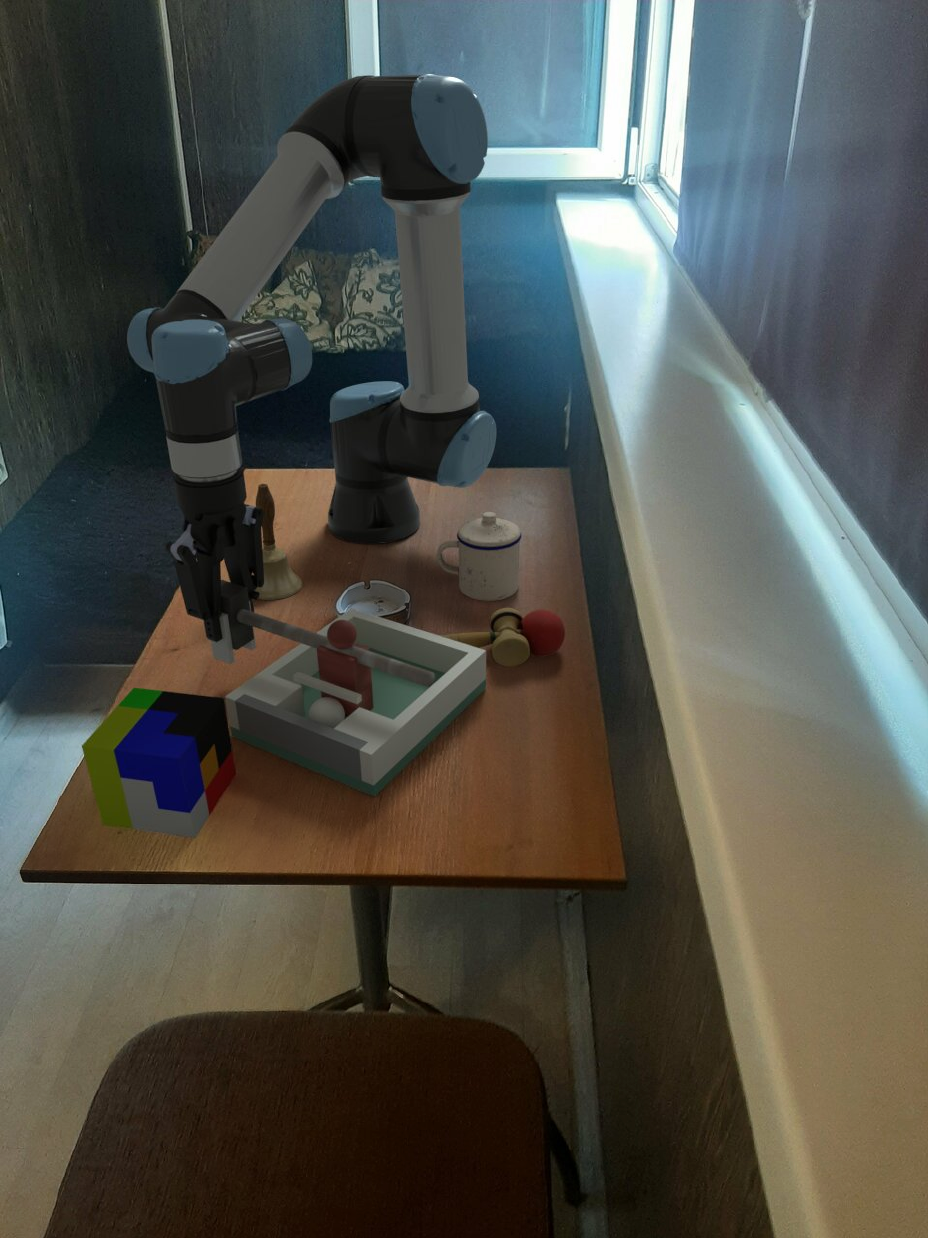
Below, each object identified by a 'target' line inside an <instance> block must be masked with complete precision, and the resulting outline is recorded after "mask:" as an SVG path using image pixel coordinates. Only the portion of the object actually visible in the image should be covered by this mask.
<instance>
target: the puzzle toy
mask: <svg viewBox="0 0 928 1238" xmlns="http://www.w3.org/2000/svg"><path fill="white" fill-rule="evenodd" d="M225 705H226V702H225V697H218V696H208V695H202V694H201V695H200V694H193V693H192V694H191V693H183V692H175V691H167V690H158V689H157V690H156V689H150V688H141V687H140V688H139V687H133V688H132V689H131V690H130V691H129V693H128V694H126V696H124V698H123V699H122V700H121V701H120V702H119V703H118V705H117V706H116V707H115V708H114V709H113V710H112V711H111V713H109V715H108V716H107V717H106V718H105V719H104V720H103V722H101V724H100V725H99V726H98V727H97V728H96V729H95V731H94V732H93V733H92V734H91V735H90V736H89V737H88V738H87V739H86V740H85V742H83V744H81V749H82V752H83V756H84V759H85V762H86V763H85V764H86V768H87V771H88V774H89V778H90V783H91V787H92V790H93V794H94V797H95V801H96V807H97V810H98V812H99V813H98V814H99V817H100V821H101V825H102V826H109V827H113V828H114V827H115V828H122V829H129V830H136V831H143V832H150V833H156V834H163V835H164V834H165V835H170V836H171V835H173V836H178V837H185V838H191V839H196V837H197V836H198V835H199V833H200V831H201V830H202V828H203V827H204V826H205V823H206V822H207V820H208V819H209V818H210V815H211V814H212V812H213V811H214V809H215V807H216V806H217V804H218V803H219V802H220V800H221V798H222V797H223V795H224V794H225V793H226V791H227V789H228V788H229V786H230V784H231V783H232V781H233V780H234V778H235V776H236V775H237V773H236V772H237V771H236V765H235V758H234V754H233V747H232V742H231V733H230V730H229V729H230V727H229V721H228V714H227V708H226V706H225Z"/></svg>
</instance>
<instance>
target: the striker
mask: <svg viewBox="0 0 928 1238" xmlns="http://www.w3.org/2000/svg"><path fill="white" fill-rule="evenodd" d="M221 603H222V613H225V614H228V620H229V627H230V633H231V640H232V647H233V650H235V651H238V650H239V649H241V648H244V647H243V646H244V645H246V644H247V643H249V642H250V641H252V640H253V639H254V635H255V632H254V633H253V628H256V629H259V630H262V631H265V632H267V633H270V634H274V635H276V636H280V637H282V638H285V639H288V640H290V641H294V642H297V643H299V644H301V643H302V644H305V645H308V646H311V647H313V648H316V649H317V657H318V667H319V677H320V680H322V681H325V682H328V683H331V684H333V685H336V686H339V687H342V688H345V689H347V690H350V691H353V692H356V693H358V694H361V697H362V701H361V702H360V703H358V704H355V703H352V702H349V701H347V700H344V699H341V698H339V697H336V696H333V695H330V694H328V693H325V692H322V691H321V696H322V698H323V697H331V698H334V699H336V700H337V701H339V702H340V703H341V705H342V706H343V708H344V711H345V717H348V716H349V715H351V714H352V713H353V712H354V711H355V710H357V709H358V708H359V707H360V708H363V709H366V710H368V711H370V710H372V709H373V708H374V706H373V692H372V677H371V667H372V668H374V669H377V670H380V671H383V672H386V673H389V674H392V675H395V676H398V677H401V678H404V679H406V680H409V681H412V682H415V683H418V684H421V685H424V686H427V687H430V686H431V685H432V684H433V682H434V679H435V674H434V673H433V672H430V671H427V670H424V669H421V668H418V667H415V666H412V665H409V664H406V663H403V662H400V661H397V660H394V659H391V658H388V657H385V656H382V655H379V654H376V653H373V652H370V648H367V647H364V646H361V645H358V644H355V643H354V642H355V640H356V636H357V633H356V629H355V627H354V626H353V624H352V623H350V622H349V621H346V620H338V621H335V622H333V621H332V622H333V623H332V624H331V625H330V627H329V628H328V631H327V637H326V636H323V635H320V634H317V632H313V631H310V630H307V629H304V628H302V627H298V626H297V625H292V624H289V623H287V622H285V621H281V620H278V619H276V618H271V617H269V616H266V615H263V614H259V613H256V612H255V611H254V612H255V613H254V612H251V611H250V605H249V597H248V590H247V588H246V587H243V586H240V585H237V584H234V583H231V582H230V581H228V580H225V579H221Z"/></svg>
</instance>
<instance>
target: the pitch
mask: <svg viewBox="0 0 928 1238" xmlns="http://www.w3.org/2000/svg"><path fill="white" fill-rule="evenodd" d="M338 620H346V621H349V622H350V623H352V624H353V626H354V627H355V629H356V633H357V636H356V640H355V642H354V643H355V644H358V645H361V646H364V647H367V648H370V652H373V653H376V654H379V655H382V656H385V657H388V658H391V659H394V660H397V661H400V662H403V663H406V664H409V665H412V666H415V667H418V668H421V669H424V670H427V671H430V672H433V673H434V674H435V679H434V682H433V684H432V685H431V686H430V687H427V686H424V685H421V684H418V683H415V682H412V681H409V680H406V679H404V678H401V677H398V676H395V675H392V674H389V673H386V672H383V671H380V670H377V669H374V668H372V667H371V677H372V692H373V706H374V708H373V709H372V710H370V711H368V710H366V709H363V708H360V707H359V708H358V709H357V710H355V711H354V712H353V713H352V714H351V715H349V716H348V717H345V719H344V720H343V721H342V722H341V723H340V724H339V725H337V726H336V727H335V728H334V729H333V728H331V727H328V726H325V725H323V724H320V723H318V722H315V721H313V720H310V719H309V717H308V714H309V709H310V707H311V705H312V704H313V703H314V702H315V701H316V700H318V699H320V698H322V696H321V691H322V692H325V693H328V694H330V695H333V696H336V697H339V698H341V699H344V700H347V701H349V702H352V703H355V704H358V703H360V702H361V701H362V697H361V694H358V693H356V692H353V691H350V690H347V689H345V688H342V687H339V686H336V685H333V684H331V683H328V682H325V681H322V680H320V677H319V667H318V657H317V649H316V648H313V647H311V646H308V645H305V644H302V643H299V644H298V645H297V646H296V647H294V648H293V649H291V650H289V651H288V652H287V653H285V654H284V655H283V656H281V657H280V658H278V659H277V660H276V661H274V662H273V663H271V664H269V665H268V666H267V667H266V668H264V669H262V670H261V671H260V672H258V673H257V674H256V675H254V676H253V677H251V678H250V679H248V680H247V681H245V682H244V683H243V684H241V685H240V686H238V687H237V688H236V689H234V690H232V691H231V692H229V693H227V694H226V695H225V696H224V701H225V705H226V706H225V707H226V714H227V720H228V726H229V729H230V730H229V732H230V738H234V739H237V740H239V741H240V742H241V741H242V742H243V743H246V744H247V745H250V746H253V747H256V748H257V749H260V750H262V751H264V752H267V753H269V754H272V755H275V756H277V757H279V758H281V759H283V760H286V761H288V762H291V763H294V764H296V765H299V766H300V767H303V768H305V769H307V770H310V771H312V772H314V771H315V772H314V773H316V774H319V775H321V776H325V777H327V778H329V779H332V780H334V781H336V782H338V783H340V784H343V785H345V786H348V787H350V788H353V789H355V790H357V791H360V792H362V793H364V794H367V795H369V796H372V797H376V796H377V795H378V794H379V793H380V792H381V791H382V790H383V789H384V788H385V787H386V786H387V785H388V784H389V783H390V782H391V781H392V780H393V779H394V778H396V777H397V776H398V775H399V774H400V772H402V771H403V770H404V769H405V768H406V767H407V766H408V765H409V764H410V763H411V762H412V761H413V760H414V759H415V758H416V757H417V756H418V755H419V754H420V753H422V752H423V750H424V749H425V748H427V747H428V745H430V743H432V742H433V741H434V740H435V739H436V738H437V737H438V736H439V735H440V734H441V733H442V732H443V731H444V730H445V729H446V728H447V727H448V726H449V725H450V724H451V723H452V722H453V721H455V720H456V719H457V717H458V716H460V715H461V713H463V712H464V711H465V709H467V708H468V707H469V706H470V705H471V704H472V703H473V702H474V701H475V700H476V699H477V698H478V697H479V696H480V695H481V694H482V693H483V692H484V691H486V690H487V650H485V649H483V648H481V647H480V648H477V647H473V646H470V645H467V644H464V643H461V642H457V641H454V640H451V639H448V638H445V637H441V636H438V634H435V633H433V632H428V631H425V630H422V629H418V628H415V627H413V626H409V625H406V624H404V623H400V622H396V621H393V620H390V619H386V618H384V617H380V616H377V615H374V614H371V613H368V612H365V611H362V610H358V609H355V608H350V609H348V610H347V611H345V612H343V614H341V615H340V616H338V617H337V618H335V619H334V620H333V621H331V622H330V623H328V624H327V625H325V626H324V627H322V628H321V629H320V630H318V631H317V632H316V633H317V634H320V635H323V636H326V637H327V631H328V628H329V627H330V625H331V624H332V623H333V622H335V621H338Z"/></svg>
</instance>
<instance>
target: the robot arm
mask: <svg viewBox="0 0 928 1238" xmlns="http://www.w3.org/2000/svg"><path fill="white" fill-rule="evenodd" d="M487 127H488V125H487V121H486V117H485V113H484V111H483V107H482V105H481V102H480V101H479V97H477V95H476V94H474V92H473V89H472V88H471V87H470V86H469V85H468V83H466V82H465V81H464V80H462V79H460V78H458V77H453V76H445V75H437V74H435V73H434V74H430V73H426V74H405V75H401V74H400V75H372V74H371V75H370V74H368V75H357V76H353V77H351V78H348V79H344V80H343V81H341V82H339V83H337V84H335V85H333V86H331V87H329V89H327V90H326V91H324V92H323V93H322V94H321V95H319V96H318V97H316V99H315V100H313V101H312V102H311V103H309V105H308V106H307V107H306V108H304V110H303V111H302V112H301V113H300V114H299V115H298V116H296V118H295V119H294V121H293V122H292V123H291V124H290V126H289V127H288V128H287V129H286V130H285V132H284V133H283V134H282V136H281V137H280V138H279V140H278V143H277V145H276V146H277V147H276V153H277V157H276V158H275V160H274V161H273V162H272V164H270V166H269V167H268V169H267V170H266V171H265V173H264V174H263V176H262V177H261V178H260V180H259V181H258V182H257V184H255V186H254V188H252V190H251V191H250V193H249V194H248V195H247V197H246V198H245V200H244V201H243V203H241V205H240V206H239V208H238V209H237V210H236V211H235V213H234V215H233V216H232V217H231V218H230V220H229V221H228V222H227V224H226V225H225V227H224V228H223V229H222V231H221V232H220V233H219V235H218V236H217V238H215V240H214V241H213V243H212V244H211V245H210V247H209V248H208V249H207V250H206V253H204V254H203V256H202V257H201V259H200V260H199V261H198V263H197V264H196V265H195V267H194V268H193V269H192V271H191V272H190V273H189V275H188V276H187V277H186V278H185V280H184V281H183V283H182V284H181V285H180V286H179V288H178V290H177V291H176V292H175V294H174V296H172V298H171V299H170V300H169V301H168V302H167V304H166V305H165V307H164V308H163V307H153V308H152V307H150V308H147V309H143V310H141V311H140V312H139V311H138V312H137V313H136V314H135V315H134V316H133V318H132V319H131V321H130V323H129V324H128V325H129V326H128V329H127V334H126V335H127V336H126V341H127V342H126V343H127V349H128V352H129V353H130V356H131V358H132V359H133V360H134V362H135V364H137V365H138V366H139V367H140V368H141V369H143V370H144V371H146V372H150V373H153V375H154V377H155V382H156V387H157V392H158V398H159V402H160V409H161V414H162V418H163V424H164V431H165V434H166V443H167V448H168V455H169V461H170V467H171V470H172V472H173V473H175V474H174V475H173V478H172V479H173V485H174V491H175V497H176V504H177V506H178V507H179V509H180V511H181V512H182V515H183V521H182V522H183V523H182V527H181V529H182V534H181V535H180V536H179V538H178V539H177V540H176V541H167V543H166V544H165V550H166V553H168V555H169V557H170V558H171V559H172V561H173V564H174V568H175V572H176V576H177V579H178V584H179V588H180V592H181V595H182V599H183V603H184V606H185V607H184V608H185V611H186V614H187V615H188V616H191V617H193V618H196V619H199V620H203V625H204V631H205V637H206V638H207V640H210V642H211V644H210V646H211V651H212V656H213V659H214V660H217V661H220V662H223V663H226V664H228V665H231V664H233V663H235V662H236V661H235V654H234V649H233V647H232V640H231V633H230V627H229V620H228V614H225V613H222V603H221V580H222V575H221V574H222V573H221V572H222V571H221V570H222V569H221V567H222V566H221V563H222V562H223V561H224V565H225V568H226V572H227V576H228V580H229V582H231V583H234V584H237V585H240V586H243V587H246V588H247V590H248V597H249V605H250V611H251V612H254V613H256V612H255V608H254V607H255V606H254V601H257V600H259V599H258V598H259V595H260V593H259V592H256V591H255V590H256V589H257V587H259V588H261V587H262V586H263V585H264V567H263V550H262V549H263V532H262V521H263V516H264V510H263V509H262V508H258V507H256V506H253V505H249V504H247V503H245V502H246V500H247V488H246V482H245V473H244V469H243V468H242V467H241V466H242V465H243V457H242V448H241V441H240V436H239V426H238V424H239V423H238V417H237V406H240V405H243V404H246V403H248V402H251V401H254V400H256V399H259V398H262V397H266V396H269V395H271V394H274V393H276V392H279V391H281V392H282V391H285V390H287V389H288V388H290V387H291V386H293V385H296V384H298V383H300V382H302V381H303V380H305V378H306V377H307V376H308V375H309V374H310V372H311V370H312V369H311V368H312V366H313V352H312V350H313V349H312V344H311V342H310V341H311V340H309V336H308V335H307V333H306V332H305V331H304V329H303V328H302V327H301V326H300V325H299V324H298V323H296V322H295V321H293V320H291V319H288V318H284V317H283V318H282V317H281V318H276V319H275V318H273V319H270V318H267V319H265V320H262V322H258V323H249V322H243V321H240V320H241V319H242V317H243V315H244V314H245V312H246V311H247V310H248V308H249V307H250V305H252V303H253V302H254V300H255V299H256V297H257V296H258V295H259V293H260V291H262V289H263V288H264V286H265V285H266V283H267V282H268V280H269V279H270V278H271V276H272V275H273V274H274V272H275V270H276V269H277V268H278V266H279V265H280V264H281V262H282V261H283V259H284V258H285V257H286V255H287V254H288V252H289V251H290V250H291V248H293V245H295V242H296V241H297V240H298V238H299V237H300V235H301V234H302V233H303V232H304V230H305V228H306V227H307V225H308V224H309V223H310V221H311V220H312V219H313V217H314V216H315V215H316V213H317V212H318V210H319V209H320V208H321V206H322V204H324V202H325V200H326V199H328V200H329V199H333V198H336V197H337V196H339V195H340V194H341V193H342V191H343V190H344V188H345V186H346V185H348V183H350V182H352V181H354V180H357V179H360V178H364V177H365V178H366V177H369V178H379V180H380V191H381V193H380V194H381V198H382V200H383V201H384V202H385V203H386V204H387V205H388V206H389V207H390V208H392V210H393V211H394V218H395V219H394V220H395V231H396V243H397V245H396V246H397V255H398V265H399V266H398V267H399V269H398V270H399V278H400V292H401V294H400V295H401V302H402V303H401V304H402V315H403V318H402V319H403V329H404V330H403V331H404V339H405V341H404V342H405V343H404V344H405V353H406V365H407V367H406V368H407V377H408V386H407V388H406V389H405V388H404V385H403V384H401V383H400V382H397V381H388V380H387V381H372V382H365V383H359V384H354V385H351V386H347V387H344V388H342V389H340V390H337V391H336V392H335V393H334V394H333V395H332V397H331V398H330V401H329V411H330V412H329V413H330V414H329V415H330V416H329V419H328V420H329V425H330V433H331V434H330V435H331V436H330V437H331V445H332V446H331V447H332V456H333V465H334V476H335V484H334V487H333V488H334V489H333V493H332V496H331V500H330V504H329V509H328V513H327V522H328V523H327V524H328V530H329V533H331V535H333V536H335V537H336V538H337V539H340V540H342V541H345V542H349V543H356V544H364V545H365V544H366V545H372V544H373V545H374V544H384V543H386V544H387V543H390V542H396V541H398V540H399V541H400V540H402V539H404V538H407V537H409V536H411V535H413V534H414V533H415V532H417V530H418V529H419V528H420V525H421V516H420V515H421V512H420V507H419V506H418V504H417V501H416V499H415V496H414V492H413V490H412V487H411V485H410V482H409V478H411V479H416V480H419V481H425V482H429V483H433V484H437V485H439V486H441V487H451V488H452V487H453V488H458V489H459V488H460V489H462V488H468V487H471V486H472V485H473V484H475V483H476V482H478V480H479V479H480V478H481V477H482V476H483V474H484V473H485V471H486V469H487V468H488V466H489V463H490V461H491V459H492V457H493V454H494V450H495V446H496V441H497V440H496V439H497V424H496V421H495V419H494V417H493V416H492V414H490V413H489V412H487V411H486V410H481V408H480V395H479V394H480V393H479V391H478V390H477V389H476V388H475V387H474V386H473V385H471V384H470V383H469V379H468V376H469V375H468V374H469V373H468V354H467V335H466V334H467V333H466V331H467V330H466V314H465V313H466V312H465V311H466V310H465V295H464V294H465V291H464V290H465V289H464V269H463V249H462V246H463V245H462V226H461V225H462V224H461V206H462V204H463V203H464V202H465V201H466V200H467V199H468V197H469V196H470V195H471V189H472V188H471V182H473V181H474V180H476V179H477V178H478V177H479V176H480V175H481V173H482V171H483V169H484V167H485V159H484V158H486V157H487V155H488V147H489V145H488V144H489V141H488V140H489V139H488V138H489V135H488V129H487ZM253 573H254V575H253ZM254 628H255V627H253V633H254V639H253V640H252V641H250V642H249V643H247V644H246V645H244V646H243V647H242V648H245V649H248V650H250V651H253V650H254V649H256V648H257V645H256V637H255V636H256V635H255V629H254Z"/></svg>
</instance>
